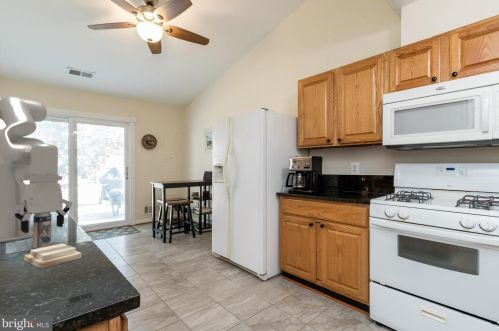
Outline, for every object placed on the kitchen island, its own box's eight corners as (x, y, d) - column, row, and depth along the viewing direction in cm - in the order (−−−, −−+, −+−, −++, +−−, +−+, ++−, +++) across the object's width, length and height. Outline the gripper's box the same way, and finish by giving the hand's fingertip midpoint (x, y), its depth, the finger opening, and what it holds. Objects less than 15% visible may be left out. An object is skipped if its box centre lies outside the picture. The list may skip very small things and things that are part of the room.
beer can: (40, 250, 82) (41, 214, 83) (28, 248, 83) (29, 213, 84) (54, 245, 87) (55, 211, 87) (43, 244, 88) (44, 210, 88)
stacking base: (23, 260, 73) (24, 250, 73) (62, 250, 82) (62, 241, 82) (41, 269, 67) (41, 258, 67) (81, 257, 76) (81, 248, 76)
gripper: (67, 178, 95) (66, 223, 94) (6, 180, 80) (5, 233, 79) (77, 179, 91) (76, 225, 91) (15, 180, 76) (14, 236, 76)
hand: (43, 229), depth 85 cm, fingers open, 9 cm apart
